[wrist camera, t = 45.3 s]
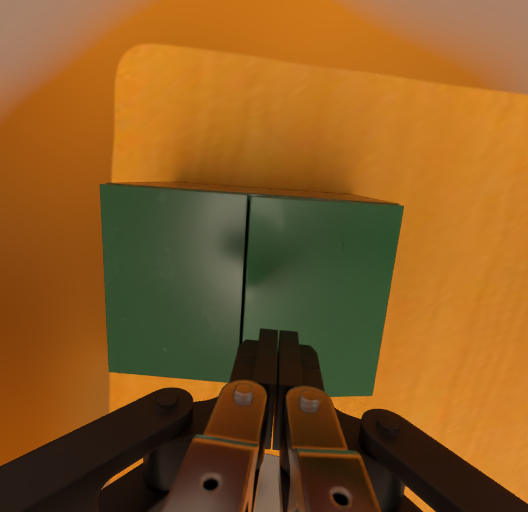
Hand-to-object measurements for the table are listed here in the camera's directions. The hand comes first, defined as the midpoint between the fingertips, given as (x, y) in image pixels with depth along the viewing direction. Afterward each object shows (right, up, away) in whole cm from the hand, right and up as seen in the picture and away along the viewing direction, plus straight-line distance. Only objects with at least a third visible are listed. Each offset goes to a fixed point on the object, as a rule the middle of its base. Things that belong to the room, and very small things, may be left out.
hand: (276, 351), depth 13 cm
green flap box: (-1, +4, +19) cm, 20 cm away
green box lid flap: (+3, +1, +6) cm, 6 cm away
